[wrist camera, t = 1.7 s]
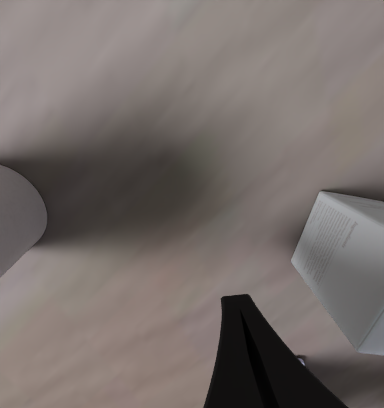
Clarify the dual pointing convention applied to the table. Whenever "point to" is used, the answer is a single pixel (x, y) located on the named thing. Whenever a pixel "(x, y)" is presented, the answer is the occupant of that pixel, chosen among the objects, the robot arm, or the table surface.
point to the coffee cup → (18, 217)
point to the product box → (347, 265)
